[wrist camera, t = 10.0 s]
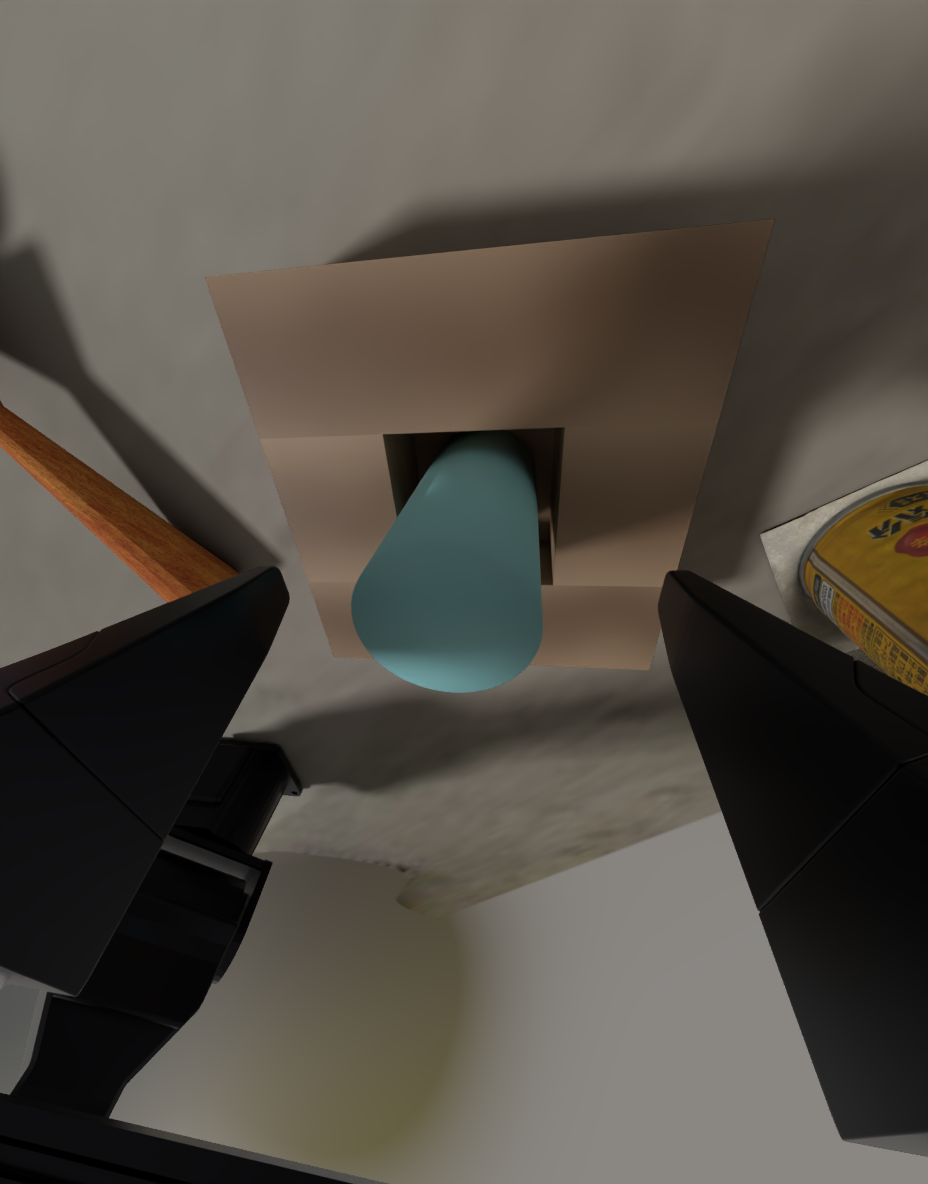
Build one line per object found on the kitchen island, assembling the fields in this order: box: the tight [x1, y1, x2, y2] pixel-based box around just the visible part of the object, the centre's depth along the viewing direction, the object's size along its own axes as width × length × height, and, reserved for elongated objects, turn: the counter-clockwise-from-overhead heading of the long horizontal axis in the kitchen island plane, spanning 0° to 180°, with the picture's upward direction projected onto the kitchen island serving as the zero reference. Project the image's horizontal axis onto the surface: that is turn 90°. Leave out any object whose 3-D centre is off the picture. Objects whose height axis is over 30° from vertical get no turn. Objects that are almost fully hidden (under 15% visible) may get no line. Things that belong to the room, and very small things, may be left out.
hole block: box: [205, 219, 775, 670], centre depth 15 cm, size 13×13×4 cm
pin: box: [351, 430, 543, 693], centre depth 12 cm, size 4×4×9 cm
